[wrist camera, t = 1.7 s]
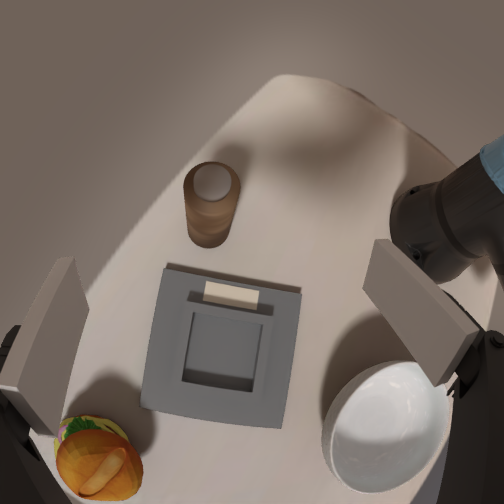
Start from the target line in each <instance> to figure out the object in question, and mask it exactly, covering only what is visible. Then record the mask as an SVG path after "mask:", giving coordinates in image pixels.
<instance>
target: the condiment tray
mask: <svg viewBox="0 0 504 504" xmlns="http://www.w3.org/2000/svg"><path fill="white" fill-rule="evenodd" d="M301 298H302V294H299V293H293V292H287V291H281V290H276V289H270V288H264V287H259V286H253V285H248V284H242V283H237V282H232V281H226V280H221V279H216V278H211V277H206V276H200V275H195V274H190V273H185V272H180V271H175V270H170V269H166V268H164V269H163V274H162V278H161V283H160V288H159V292H158V297H157V302H156V307H155V312H154V318H153V323H152V328H151V334H150V339H149V345H148V351H147V357H146V363H145V370H144V376H143V383H142V390H141V398H140V405H139V407H142V408H146V409H150V410H154V411H159V412H163V413H168V414H173V415H178V416H183V417H189V418H194V419H200V420H206V421H213V422H220V423H227V424H235V425H244V426H253V427H264V428H277V429H281V428H282V423H283V417H284V411H285V406H286V400H287V394H288V388H289V382H290V375H291V369H292V363H293V356H294V349H295V342H296V335H297V328H298V321H299V313H300V306H301Z"/></svg>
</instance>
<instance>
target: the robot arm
mask: <svg viewBox="0 0 504 504" xmlns="http://www.w3.org/2000/svg"><path fill="white" fill-rule="evenodd" d="M390 231H391V237H392V241H393V243H392V242H391V241H390V240H389V239H378V240H375V242H374V246H373V250H372V254H371V258H370V262H369V266H368V270H367V274H366V277H365V281H364V285H363V288H362V289H363V290H364V291H365V292H366V294H367V295H368V296H369V298H370V299H371V300H372V302H373V303H374V304H375V306H376V307H377V308H378V309H379V311H380V312H381V313H382V315H383V316H384V317H385V319H386V320H387V322H388V323H389V324H390V326H391V327H392V328H393V330H394V331H395V332H396V334H397V335H398V337H399V338H400V339H401V341H402V342H403V343H404V345H405V346H406V348H407V349H408V350H409V352H410V353H411V355H412V356H413V358H414V359H415V360H416V362H417V363H418V365H419V366H420V368H421V369H422V370H423V372H424V373H425V375H426V376H427V378H428V379H429V381H430V382H431V384H432V385H433V387H434V388H435V387H437V386H439V385H442V384H444V383H446V382H448V381H449V379H450V378H451V376H452V375H453V373H454V372H456V374H457V375H458V377H457V379H456V380H455V382H454V383H453V384H452V386H451V387H450V389H449V390H448V391H447V394H446V396H449V395H450V393H451V392H452V391H453V390H454V394H453V395H452V397H453V398H454V401H453V413H452V422H451V430H450V438H449V445H448V452H447V457H446V463H445V469H444V473H443V478H442V483H441V487H440V491H439V496H438V500H437V503H436V504H504V336H503V335H502V334H501V333H499V332H497V331H493V330H490V331H487V332H486V331H485V330H484V329H483V328H482V327H481V326H480V325H479V324H478V323H477V322H476V321H475V319H474V318H473V317H472V316H471V315H470V314H469V313H468V312H467V311H465V310H464V308H463V307H462V306H461V305H459V303H458V302H457V301H456V300H455V299H454V298H453V297H452V296H451V295H450V294H448V293H447V292H445V291H444V290H442V289H441V288H440V287H439V286H437V285H438V284H442V283H445V282H448V281H451V280H453V279H455V278H456V277H458V276H459V275H460V274H461V273H462V272H463V271H464V270H465V269H466V268H467V267H468V266H469V265H470V264H471V263H472V262H473V261H474V260H475V259H477V258H479V257H482V256H484V255H488V256H489V258H490V260H491V262H492V265H493V267H494V269H495V272H496V274H497V276H498V279H499V281H500V283H501V286H502V288H503V291H504V135H502V136H501V137H499V138H498V139H496V140H495V141H493V142H492V143H490V144H487V145H485V146H483V147H482V148H481V150H480V153H478V154H477V155H475V156H474V157H473V158H472V159H470V160H469V161H467V162H466V163H465V164H464V165H462V166H461V167H459V168H458V169H456V170H455V171H454V172H452V173H451V174H450V175H448V176H447V177H446V178H444V179H443V180H442V181H439V182H434V183H430V184H425V185H420V186H416V187H413V188H411V189H409V190H408V191H407V192H405V193H404V194H403V195H401V196H400V197H399V198H398V199H397V201H396V202H395V204H394V206H393V208H392V212H391V217H390ZM89 310H90V309H89V306H88V303H87V300H86V297H85V293H84V290H83V287H82V283H81V280H80V276H79V273H78V269H77V265H76V261H75V258H74V257H63V258H58V260H57V261H56V263H55V265H54V266H53V268H52V270H51V271H50V273H49V275H48V277H47V278H46V280H45V282H44V284H43V285H42V287H41V289H40V291H39V293H38V294H37V296H36V298H35V300H34V302H33V304H32V306H31V308H30V310H29V311H28V313H27V315H26V317H25V319H24V321H23V323H22V325H15V326H14V327H13V328H12V329H11V330H10V331H9V332H8V333H7V334H6V336H5V338H4V340H3V342H2V344H1V348H0V504H72V503H71V502H70V500H69V499H68V497H67V496H66V494H65V493H64V491H63V490H62V488H61V487H60V485H59V484H58V482H57V481H56V479H55V478H54V476H53V475H52V473H51V471H50V470H49V468H48V466H47V465H46V463H45V461H44V460H43V458H42V456H41V455H40V453H39V451H38V449H37V447H36V446H35V444H34V442H33V440H32V439H31V438H30V436H29V431H30V427H31V428H32V429H33V430H34V431H35V432H36V433H37V434H38V436H44V437H50V438H57V439H58V433H59V427H60V422H61V417H62V412H63V407H64V402H65V397H66V393H67V388H68V384H69V380H70V376H71V372H72V368H73V364H74V360H75V356H76V353H77V349H78V346H79V342H80V339H81V335H82V332H83V329H84V325H85V322H86V319H87V316H88V313H89Z"/></svg>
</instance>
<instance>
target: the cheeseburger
mask: <svg viewBox="0 0 504 504" xmlns="http://www.w3.org/2000/svg"><path fill="white" fill-rule="evenodd" d="M54 451H55V458H56V466H57V470H58V472H59V475H60V477H61V478H62V479H63V481H64V482H65V484H66V485H67V486H68V487H69V488H70V489H71V490H72V491H73V492H74V493H75V494H76V495H78V496H79V497H81V498H84V499H89V500H99V501H120V500H126V499H128V498H130V497H131V496H133V495H134V494H136V493H137V491H138V490H139V488H140V486H141V483H142V477H143V465H142V461H141V458H140V457H139V455H138V453H137V452H136V450H135V449H134V447H133V446H132V445H131V444H130V443H129V440H128V437H127V436H126V434H125V433H124V432H123V430H122V429H121V428H120V427H119V426H118V425H117V424H115V423H114V422H112V421H110V420H109V419H104V418H101V417H99V416H97V415H79V416H76V417H71V418H68V419H65V420H64V421H63V422H62V423H61V424H60V427H59V433H58V439H57V438H55V440H54Z"/></svg>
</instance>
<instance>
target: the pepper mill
mask: <svg viewBox="0 0 504 504" xmlns="http://www.w3.org/2000/svg"><path fill="white" fill-rule="evenodd" d="M183 188H184V199H185V209H186V219H187V228H188V234H189V237H190V238H191V240H192V241H193V242H194V243H195V244H196V245H198V246H200V247H202V248H215V247H217V246H219V245H221V244H222V243H223V242H224V241H225V240H226V239H227V237H228V234H229V230H230V227H231V223H232V219H233V216H234V212H235V208H236V205H237V201H238V197H239V194H240V180H239V178H238V176H237V174H236V173H235V172H234V170H233V169H231V168H230V167H229V166H227V165H225V164H223V163H219V162H204V163H201V164H199V165H197V166H195V167H194V168H192V169H191V170H190V171H189V172H188V174H187V175H186V177H185V180H184V185H183Z"/></svg>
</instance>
